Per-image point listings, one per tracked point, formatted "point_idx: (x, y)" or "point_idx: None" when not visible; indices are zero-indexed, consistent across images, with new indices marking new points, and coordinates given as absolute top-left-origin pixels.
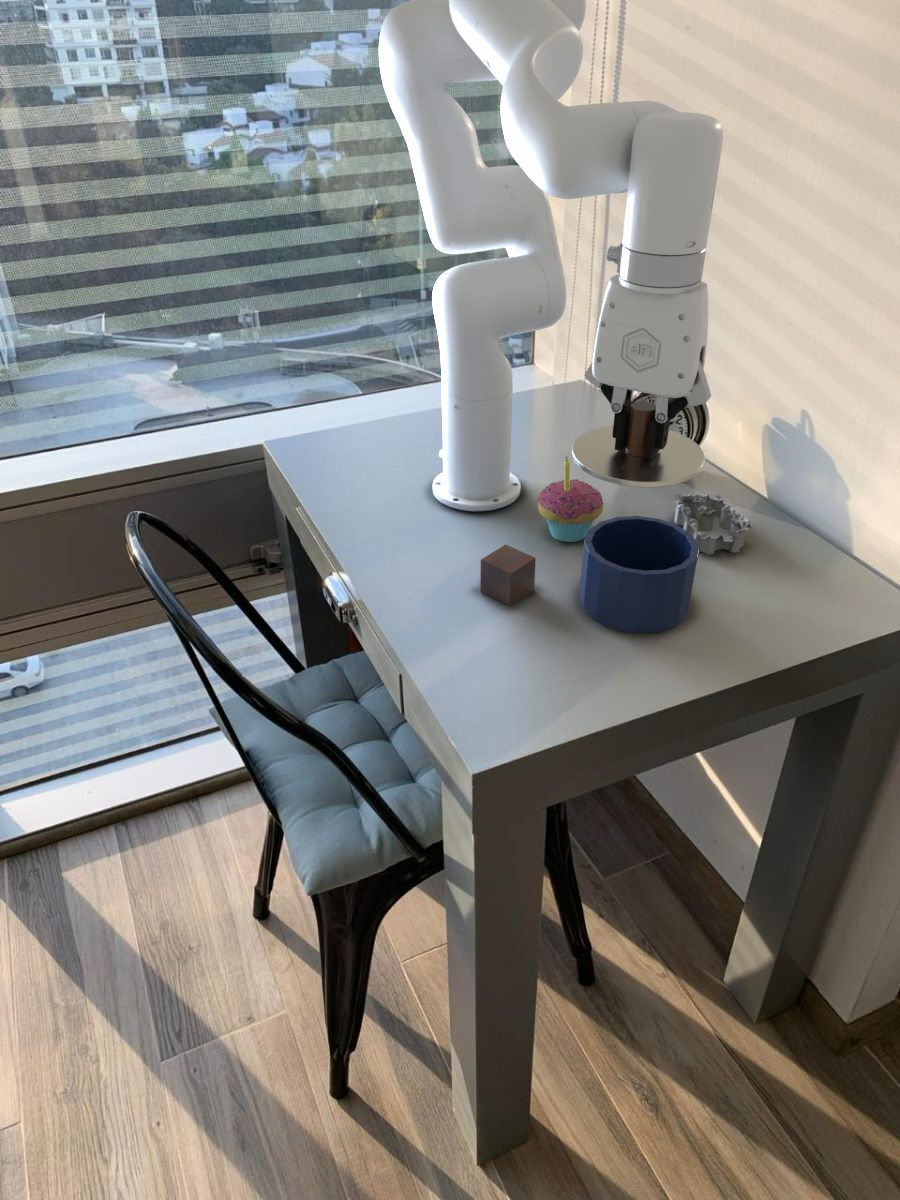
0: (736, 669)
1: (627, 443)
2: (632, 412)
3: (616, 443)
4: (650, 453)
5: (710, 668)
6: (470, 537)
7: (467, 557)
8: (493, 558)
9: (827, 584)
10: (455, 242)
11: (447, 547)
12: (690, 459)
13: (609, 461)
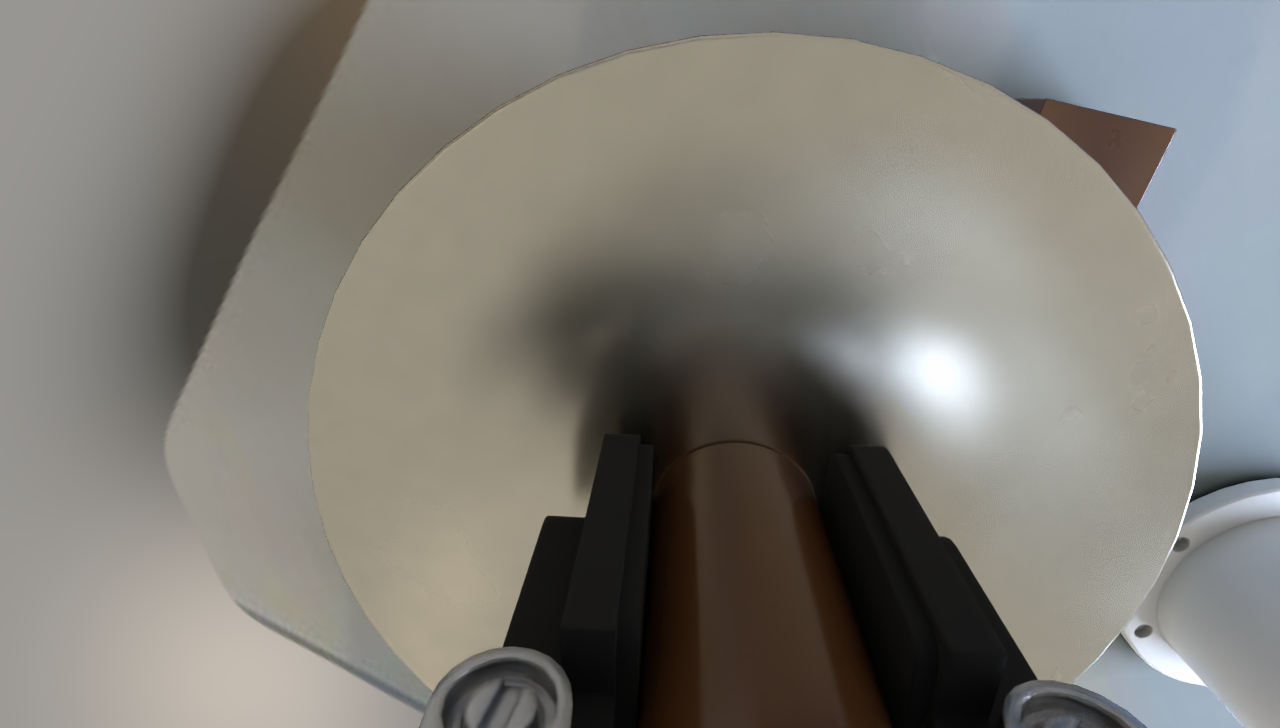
0: (347, 141)
1: (809, 505)
2: (862, 724)
3: (887, 467)
4: (607, 446)
5: (400, 110)
6: (1200, 370)
7: (1183, 273)
8: (1132, 158)
9: (326, 549)
10: None
11: (1260, 293)
12: (410, 548)
13: (871, 291)
